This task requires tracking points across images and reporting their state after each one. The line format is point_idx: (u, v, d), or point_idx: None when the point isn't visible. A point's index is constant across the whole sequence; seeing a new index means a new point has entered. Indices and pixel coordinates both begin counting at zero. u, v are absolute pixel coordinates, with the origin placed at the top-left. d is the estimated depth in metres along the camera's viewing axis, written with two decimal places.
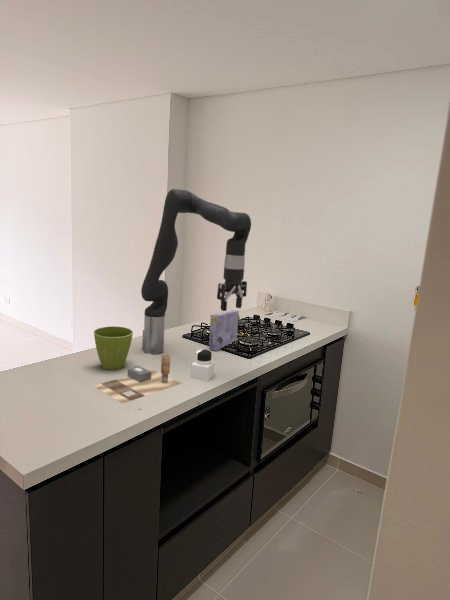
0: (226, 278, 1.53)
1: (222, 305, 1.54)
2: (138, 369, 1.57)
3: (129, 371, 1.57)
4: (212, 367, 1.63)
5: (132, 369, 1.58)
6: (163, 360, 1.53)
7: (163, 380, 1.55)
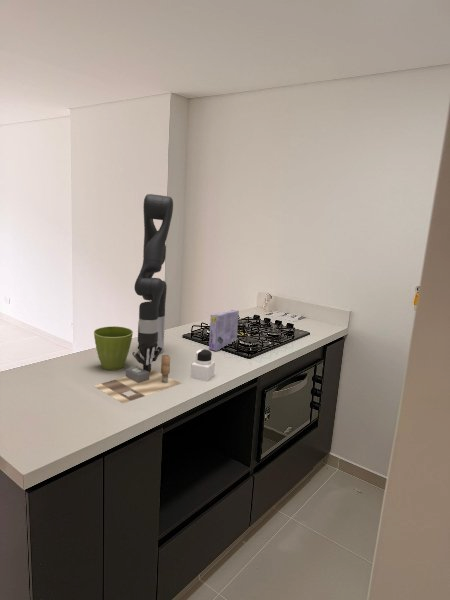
0: (139, 341, 1.55)
1: (144, 368, 1.59)
2: (136, 369, 1.56)
3: (127, 371, 1.57)
4: (212, 367, 1.63)
5: (130, 369, 1.57)
6: (163, 360, 1.53)
7: (163, 380, 1.55)
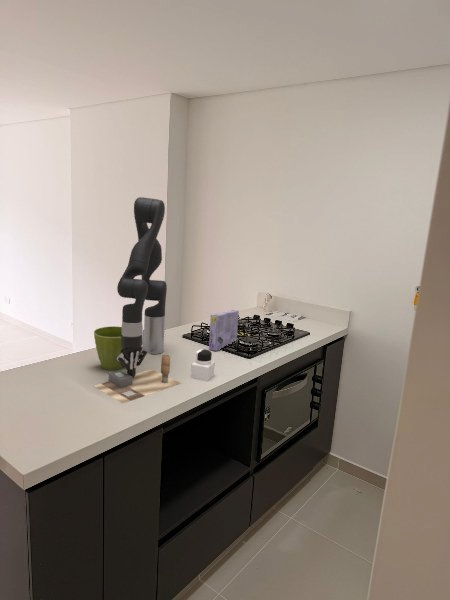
0: (122, 345, 1.49)
1: (128, 373, 1.53)
2: (119, 374, 1.51)
3: (110, 376, 1.52)
4: (212, 367, 1.63)
5: (113, 374, 1.52)
6: (163, 360, 1.53)
7: (163, 380, 1.55)
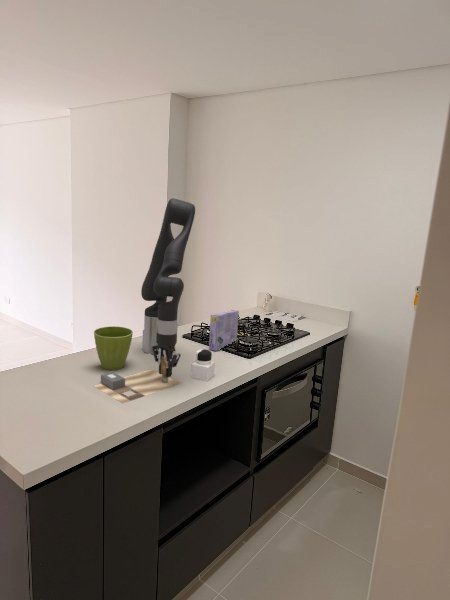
0: None
1: None
2: (111, 376, 1.49)
3: (102, 377, 1.50)
4: (212, 367, 1.63)
5: (105, 375, 1.50)
6: (163, 360, 1.53)
7: (163, 380, 1.55)
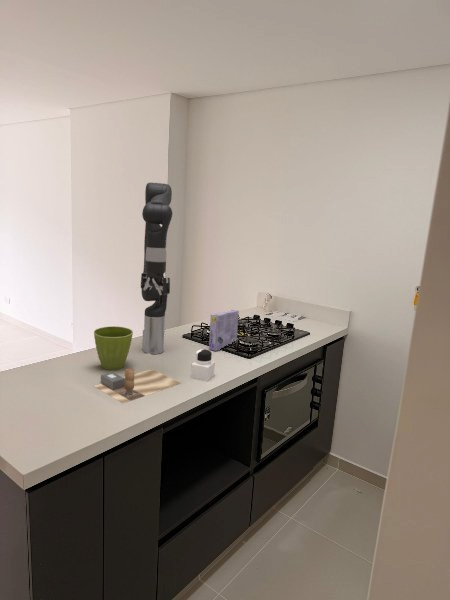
0: None
1: None
2: (111, 376, 1.49)
3: (102, 377, 1.50)
4: (212, 367, 1.63)
5: (105, 375, 1.50)
6: (126, 374, 1.41)
7: None
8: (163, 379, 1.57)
